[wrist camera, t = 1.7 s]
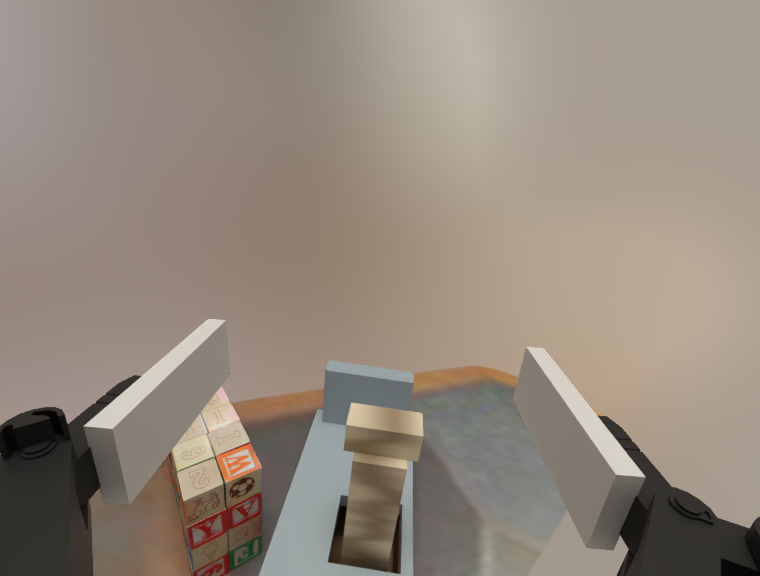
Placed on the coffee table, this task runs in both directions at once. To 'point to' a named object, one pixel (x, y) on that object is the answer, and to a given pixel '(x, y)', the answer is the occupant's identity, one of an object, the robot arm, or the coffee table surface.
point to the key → (377, 480)
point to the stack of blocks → (218, 490)
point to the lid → (336, 477)
